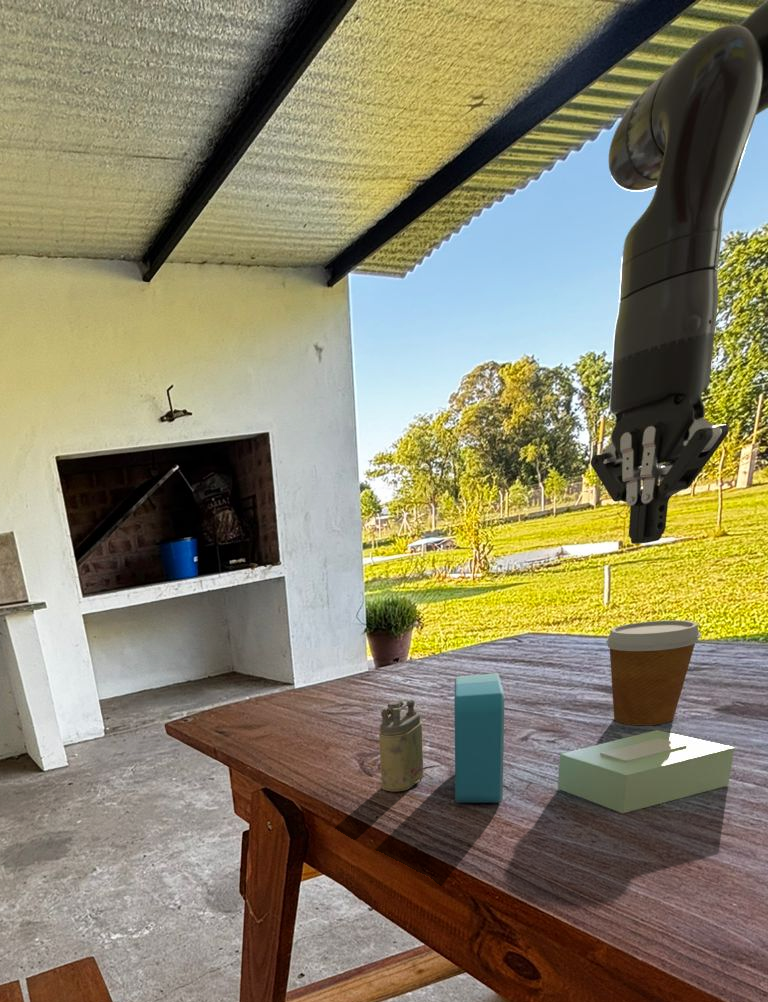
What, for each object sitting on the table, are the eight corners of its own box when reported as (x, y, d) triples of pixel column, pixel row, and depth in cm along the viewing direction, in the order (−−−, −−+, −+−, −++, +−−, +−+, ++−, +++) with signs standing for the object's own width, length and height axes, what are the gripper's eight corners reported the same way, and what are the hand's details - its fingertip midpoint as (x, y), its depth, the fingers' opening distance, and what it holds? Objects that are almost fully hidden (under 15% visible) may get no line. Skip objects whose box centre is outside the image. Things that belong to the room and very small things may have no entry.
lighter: (401, 771, 79) (398, 695, 75) (431, 773, 76) (429, 695, 73) (376, 790, 74) (371, 711, 71) (407, 794, 72) (403, 712, 68)
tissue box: (657, 728, 66) (735, 745, 59) (653, 764, 68) (728, 785, 60) (559, 752, 65) (626, 773, 57) (557, 788, 66) (622, 813, 59)
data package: (455, 769, 76) (454, 674, 72) (496, 768, 74) (498, 670, 70) (455, 807, 66) (454, 699, 62) (502, 807, 64) (505, 696, 60)
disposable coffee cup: (582, 719, 85) (588, 631, 81) (642, 705, 86) (651, 617, 82) (643, 734, 76) (654, 637, 72) (710, 718, 77) (724, 621, 73)
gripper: (773, 309, 52) (744, 529, 58) (633, 363, 64) (621, 540, 70) (697, 323, 51) (675, 544, 57) (569, 375, 63) (563, 553, 69)
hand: (645, 541), depth 63 cm, fingers closed
